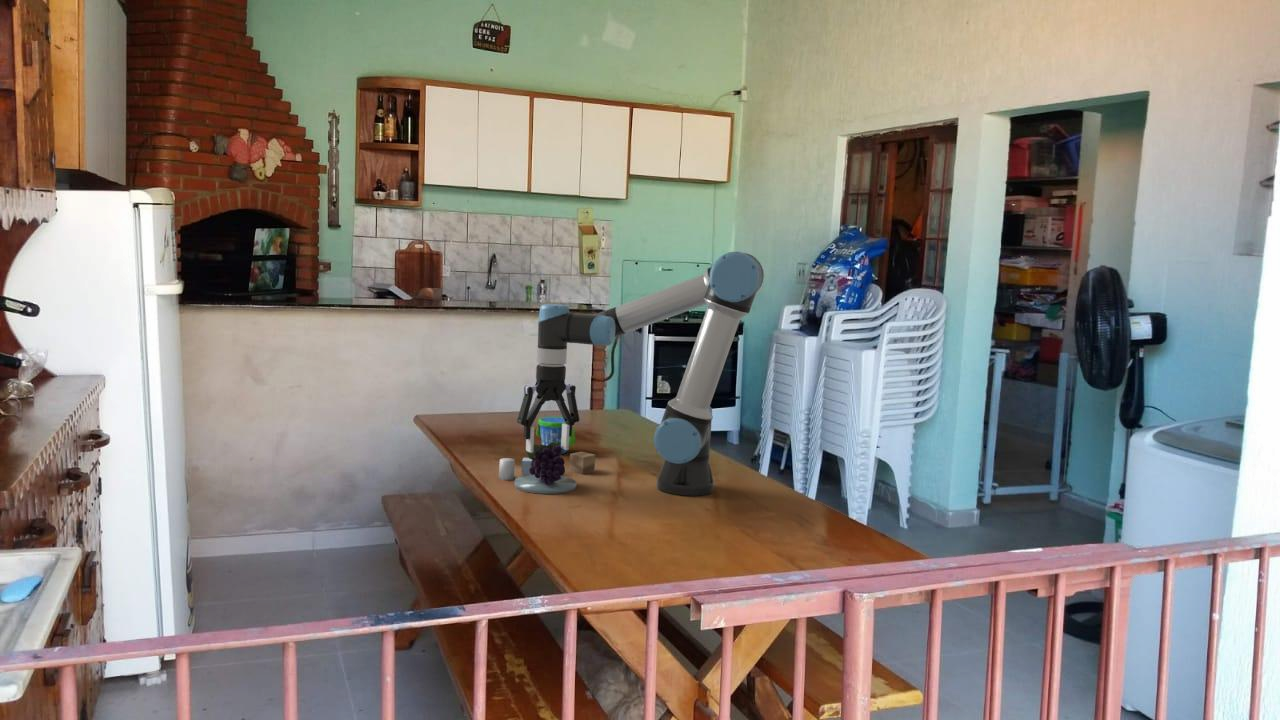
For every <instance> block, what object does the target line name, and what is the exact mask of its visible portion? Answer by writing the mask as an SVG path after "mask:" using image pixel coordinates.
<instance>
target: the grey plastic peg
mask: <svg viewBox="0 0 1280 720" xmlns="http://www.w3.org/2000/svg"><path fill="white" fill-rule="evenodd" d="M515 462H516V460H515V458H510V457H507V458H506V457H503V458H500V459H499V463H498V464H499V467H498V468H499V469H498V480H501V481H512V480H515V464H516V463H515Z"/></svg>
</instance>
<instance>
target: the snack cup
mask: <svg viewBox="0 0 1280 720" xmlns="http://www.w3.org/2000/svg"><path fill="white" fill-rule="evenodd" d="M537 422H538V423H537V428H536V433H535V434H536V437H537V438H541V445H546V446H548V445H549V444H550V443H552V442H554V443H560V447H561V437H562V424H564V423H565V421H564V419H563V416H543V417H540V418H539V419H538V421H537ZM565 424H566V423H565ZM575 433H576V432H575V427H574V425H572V435H571V437H569V447H571V446H574V445H575V443H576V434H575ZM562 451H563V453H562V454H561V455H563V454H565V453H567V452H568V450H565V449H562Z"/></svg>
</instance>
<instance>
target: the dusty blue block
mask: <svg viewBox="0 0 1280 720" xmlns="http://www.w3.org/2000/svg"><path fill="white" fill-rule="evenodd" d="M529 458H530V457H522V460H521V462H522V463H521V476H525V475H532V474H530V473H529V469H530V467H532V466H531V461H532V459H529Z"/></svg>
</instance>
